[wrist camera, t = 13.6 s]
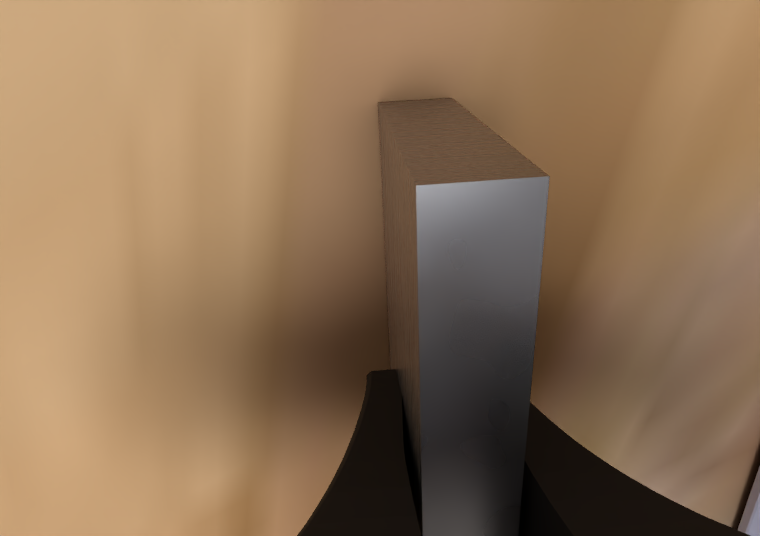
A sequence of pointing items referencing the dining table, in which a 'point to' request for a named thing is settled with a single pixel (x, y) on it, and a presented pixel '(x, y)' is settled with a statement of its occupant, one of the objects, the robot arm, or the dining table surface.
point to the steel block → (461, 309)
